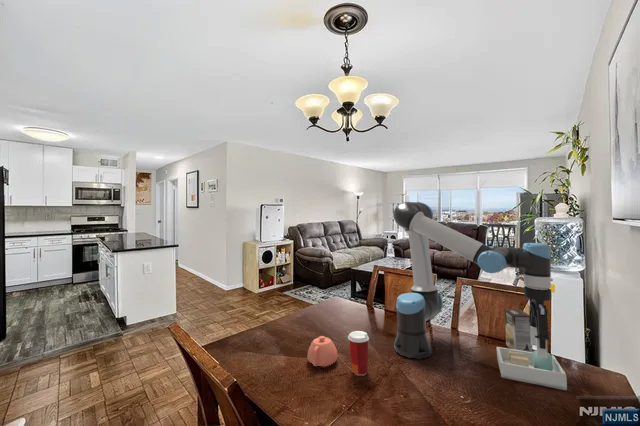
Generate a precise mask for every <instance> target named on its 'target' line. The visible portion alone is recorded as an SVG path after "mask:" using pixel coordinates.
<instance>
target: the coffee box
mask: <svg viewBox="0 0 640 426" xmlns="http://www.w3.org/2000/svg"><path fill="white" fill-rule="evenodd" d="M503 312H504V325H505V326H504V327H505V328H504V329H505V344H506V346H507V348H508V349H514V350H521V351H527V352H533V345H531V329H530V327H532V326H530V322H529V313H526V312H525V311H524V310H522V309H521V308H504V311H503Z"/></svg>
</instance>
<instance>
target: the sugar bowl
mask: <svg viewBox="0 0 640 426" xmlns="http://www.w3.org/2000/svg"><path fill="white" fill-rule="evenodd" d="M306 355H307V360H308V362H309V363H310V364H311V363H312V364H313V365H312V364H311V365H312V366H314V367H317V366H328V365H330V366H332V365H334V364H335V362H337V360H338V357H339V355H338V349H337V348H336V346H335V344H334V342H333V340H331V338H329V337H326V336H324V335H320V336H318V337H317V338H316V337H315V338H314V339H313V340H312V341H311V344H310V346H309V347H308V349H307V354H306ZM333 363H334V364H333ZM331 364H332V365H331ZM328 367H329V366H328Z"/></svg>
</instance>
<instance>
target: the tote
mask: <svg viewBox="0 0 640 426" xmlns="http://www.w3.org/2000/svg"><path fill="white" fill-rule="evenodd" d="M509 351H511V352H518V353H524V354H526V356H527V358H528V363H529V367H526V366H521V365H515V364H510V360H509ZM551 355H552V369H553V371H549V370H543V369H538V368H534V353H533V351H532V352H527V351H521V350H514V349H510V348H509V347H501V346H496V360H497V364H498V368H499V372H500V377H501V378H503V379H507V380H511V381H518V382H522V383H527V384H532V385H537V386H543V387H548V388H553V389H557V390H563V391H567V390H568V381H567V373H566V372H565V370H564V369H563V368H562V366H561V365H560V363H559V361H558V360H557V358H556V357H555V355H553V354H551Z"/></svg>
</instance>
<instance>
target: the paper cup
mask: <svg viewBox="0 0 640 426" xmlns="http://www.w3.org/2000/svg"><path fill="white" fill-rule="evenodd" d="M347 339H348V342H349V352H350V353H349V354H350V362H351V371H353V372H354V373H356V374H365V373H367V374H368V371H369V370H368V369H369V368H368V366H369V361H368V360H369V359H368V358H369V357H368V356H369V340H370V337H369V334H368V333H367V332H365V331H361V330H355V331H352V332H351V331H350V333H349V334H348V336H347ZM353 372H352V373H353Z"/></svg>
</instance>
